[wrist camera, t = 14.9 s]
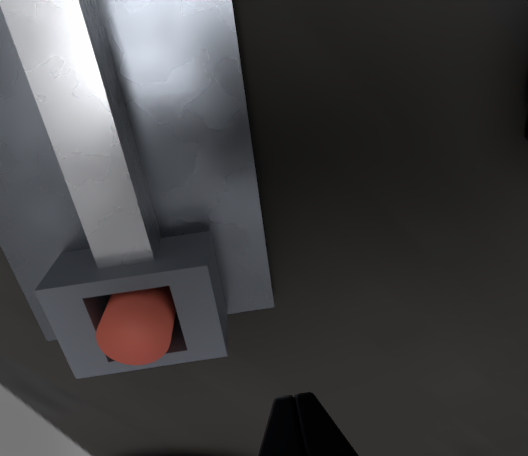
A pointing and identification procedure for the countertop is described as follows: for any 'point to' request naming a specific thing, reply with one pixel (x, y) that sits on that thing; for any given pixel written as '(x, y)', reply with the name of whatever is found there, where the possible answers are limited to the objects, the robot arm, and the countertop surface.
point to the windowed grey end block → (132, 279)
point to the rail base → (170, 142)
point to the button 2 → (137, 325)
